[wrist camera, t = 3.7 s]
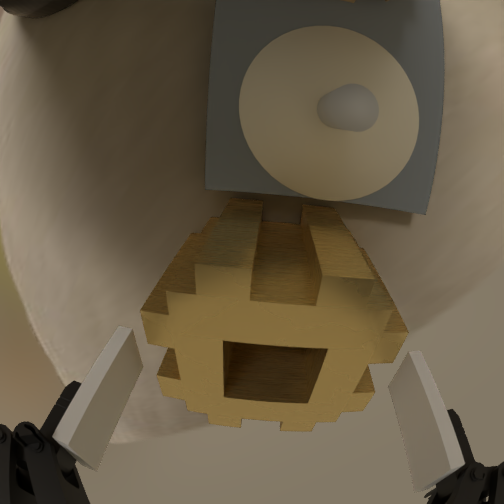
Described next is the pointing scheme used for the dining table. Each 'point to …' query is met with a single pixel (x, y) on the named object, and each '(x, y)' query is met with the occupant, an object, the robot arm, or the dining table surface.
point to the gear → (272, 319)
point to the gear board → (326, 100)
